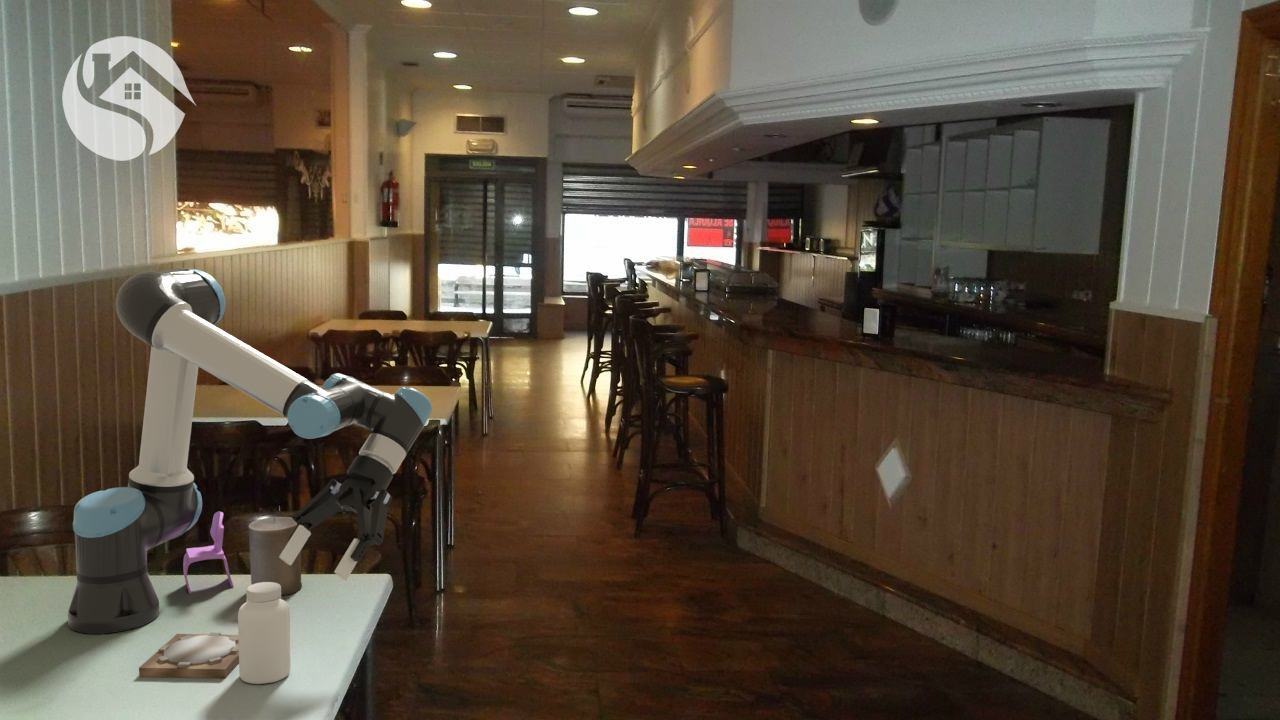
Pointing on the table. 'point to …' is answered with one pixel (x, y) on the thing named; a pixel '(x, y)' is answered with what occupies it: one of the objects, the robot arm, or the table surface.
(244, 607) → the pill bottle
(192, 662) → the gear board
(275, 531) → the pillar candle
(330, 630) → the table surface
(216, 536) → the toy chair
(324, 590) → the table surface
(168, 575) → the table surface
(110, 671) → the table surface
